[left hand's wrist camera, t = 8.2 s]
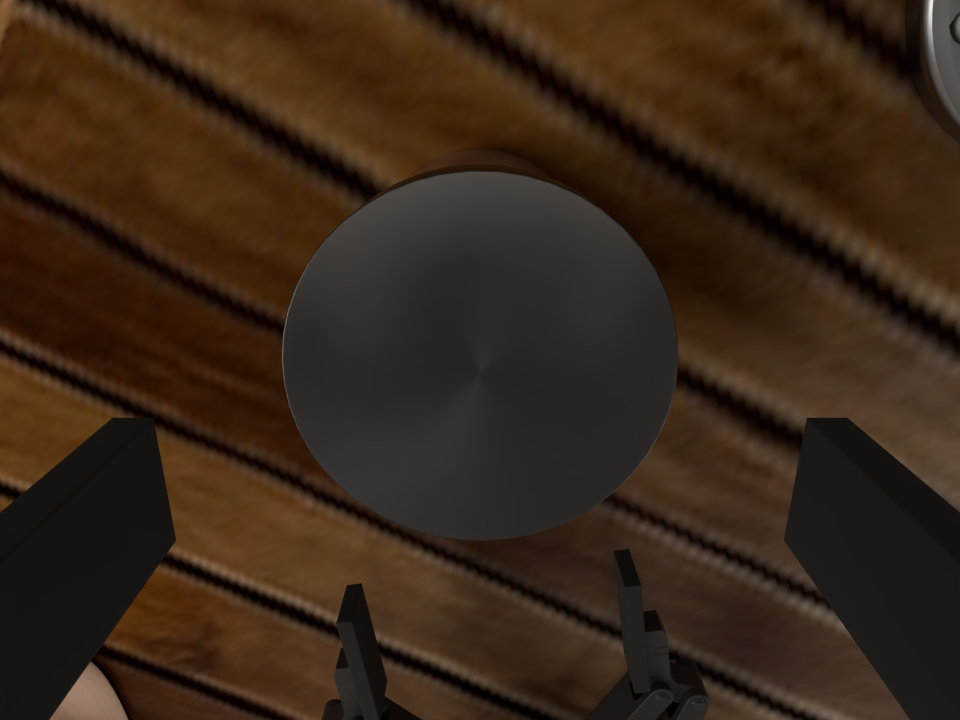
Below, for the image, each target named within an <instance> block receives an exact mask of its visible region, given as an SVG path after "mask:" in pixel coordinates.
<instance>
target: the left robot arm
mask: <svg viewBox="0 0 960 720" xmlns="http://www.w3.org/2000/svg"><path fill="white" fill-rule="evenodd" d="M905 26H906V44H907V52H908V59H909V63H910V67H911V71H912V75H913V78H914V81H915V84H916V86H917V89H918V91H919V93H920V96H921V98H922V100H923V102H924V104H925V105H926V107H927V108H928V110H929V111H930V113H931V115H932V116H933V117H934V119H935V120H936V121H937V122H938V123H939V125H940V126H941V127H942V128H943V129H944V130H945V131H946V132H947V133H948V134H949V135H950V136H951V137H952V138H954V139H955V140H956V141H958V142H959V143H960V0H907V3H906V20H905ZM175 541H176V537H175V532H174V527H173V521H172V516H171V511H170V505H169V500H168V495H167V489H166V484H165V479H164V473H163V468H162V463H161V457H160V452H159V447H158V441H157V436H156V431H155V425H154V420H153V418H112V419H111V420H110V421H108V422H107V423H106V424H105V425H104V426H103V427H101V428H100V429H99V430H98V431H97V432H95V433H94V434H93V435H92V436H91V437H89V438H88V439H87V440H86V441H85V442H84V443H82V444H81V445H80V446H79V447H78V448H76V449H75V450H74V451H73V452H72V453H70V454H69V455H68V456H67V457H66V458H65V459H63V460H62V461H61V462H60V463H59V464H57V465H56V466H55V467H54V468H53V469H51V470H50V471H49V472H48V473H47V474H46V475H44V476H43V477H42V478H41V479H40V480H38V481H37V482H36V483H35V484H34V485H32V486H31V487H30V488H29V489H28V490H27V491H25V492H24V493H23V494H22V495H21V496H19V497H18V498H17V499H16V500H15V501H13V502H12V503H11V504H10V505H9V506H8V507H6V508H5V509H4V510H3V511H2V512H0V720H50V718H51V717H52V716H53V714H54V713H55V711H56V710H57V709H58V707H59V706H60V704H61V703H62V701H63V700H64V699H65V697H66V696H67V694H68V693H69V692H70V690H71V689H72V687H73V686H74V684H75V683H76V682H77V680H78V679H79V677H80V676H81V674H82V673H83V672H84V670H85V669H86V667H87V666H88V665H89V663H90V662H91V660H92V659H93V657H94V656H95V655H96V653H97V652H98V650H99V649H100V647H101V646H102V645H103V643H104V642H105V640H106V639H107V638H108V636H109V635H110V633H111V632H112V630H113V629H114V628H115V626H116V625H117V623H118V622H119V620H120V619H121V618H122V616H123V615H124V613H125V612H126V611H127V609H128V608H129V606H130V605H131V603H132V602H133V601H134V599H135V598H136V596H137V595H138V594H139V592H140V591H141V589H142V588H143V586H144V585H145V584H146V582H147V581H148V579H149V578H150V576H151V575H152V574H153V572H154V571H155V569H156V568H157V567H158V565H159V564H160V562H161V561H162V559H163V558H164V557H165V555H166V554H167V552H168V551H169V549H170V548H171V547H172V545H173V544H174V542H175ZM784 541H785V542H786V544H787V545H788V547H789V548H790V549H791V551H792V552H793V554H794V555H795V557H796V558H797V559H798V561H799V562H800V564H801V565H802V567H803V568H804V569H805V571H806V572H807V574H808V575H809V576H810V578H811V579H812V581H813V582H814V584H815V585H816V586H817V588H818V589H819V591H820V592H821V594H822V595H823V596H824V598H825V599H826V601H827V602H828V603H829V605H830V606H831V608H832V609H833V611H834V612H835V613H836V615H837V616H838V618H839V619H840V620H841V622H842V623H843V625H844V626H845V628H846V629H847V630H848V632H849V633H850V635H851V636H852V638H853V639H854V640H855V642H856V643H857V645H858V646H859V647H860V649H861V650H862V652H863V653H864V655H865V656H866V657H867V659H868V660H869V662H870V663H871V665H872V666H873V667H874V669H875V670H876V672H877V673H878V674H879V676H880V677H881V679H882V680H883V682H884V683H885V684H886V686H887V687H888V689H889V690H890V692H891V693H892V694H893V696H894V697H895V699H896V700H897V701H898V703H899V704H900V706H901V707H902V709H903V710H904V711H905V713H906V714H907V716H908V717H909V718H910V720H960V512H958V511H957V510H956V509H955V508H954V507H952V506H951V505H950V504H949V503H948V502H947V501H945V500H944V499H943V498H942V497H941V496H939V495H938V494H937V493H936V492H935V491H933V490H932V489H931V488H930V487H929V486H928V485H926V484H925V483H924V482H923V481H922V480H920V479H919V478H918V477H917V476H916V475H914V474H913V473H912V472H911V471H910V470H909V469H907V468H906V467H905V466H904V465H903V464H901V463H900V462H899V461H898V460H897V459H895V458H894V457H893V456H892V455H891V454H890V453H888V452H887V451H886V450H885V449H884V448H882V447H881V446H880V445H879V444H878V443H876V442H875V441H874V440H873V439H872V438H871V437H869V436H868V435H867V434H866V433H865V432H863V431H862V430H861V429H860V428H859V427H857V426H856V425H855V424H854V423H853V422H852V421H850V420H849V419H848V418H807V420H806V425H805V431H804V436H803V441H802V447H801V452H800V457H799V463H798V468H797V473H796V479H795V484H794V489H793V495H792V500H791V505H790V511H789V516H788V521H787V526H786V532H785V537H784Z"/></svg>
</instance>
